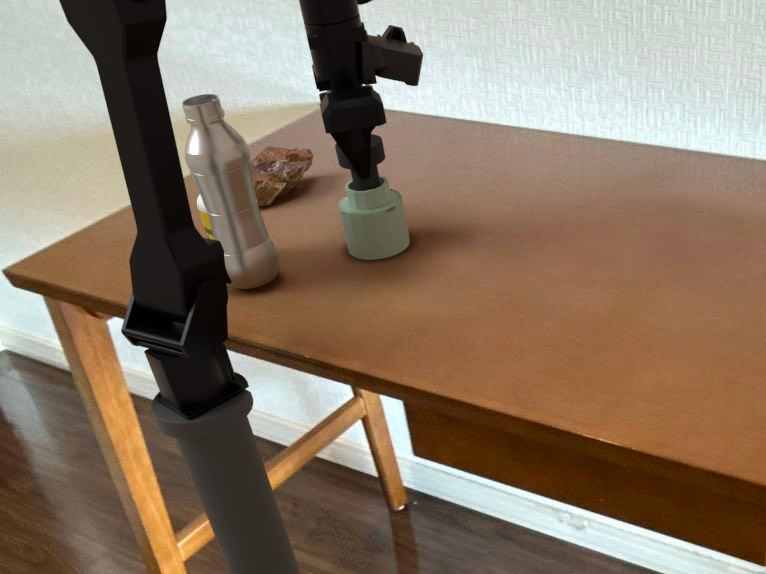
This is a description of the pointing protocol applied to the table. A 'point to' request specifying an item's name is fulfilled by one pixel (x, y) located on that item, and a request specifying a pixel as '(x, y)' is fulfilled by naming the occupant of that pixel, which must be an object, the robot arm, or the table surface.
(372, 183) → the stopper
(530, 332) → the table surface
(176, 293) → the robot arm
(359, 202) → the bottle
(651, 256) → the table surface
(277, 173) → the mineral specimen
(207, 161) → the plastic bottle
